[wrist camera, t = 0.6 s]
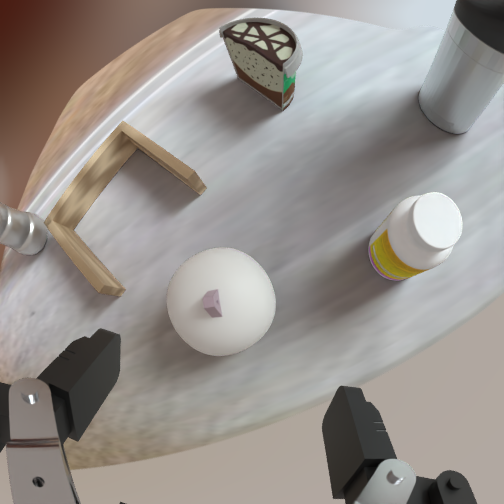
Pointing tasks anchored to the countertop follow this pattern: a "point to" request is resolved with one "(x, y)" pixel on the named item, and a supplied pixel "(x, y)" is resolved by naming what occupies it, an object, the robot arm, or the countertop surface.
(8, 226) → the plastic bottle
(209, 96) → the countertop surface
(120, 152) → the bay
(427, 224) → the supplement bottle
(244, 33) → the food container
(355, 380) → the countertop surface
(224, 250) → the ornament
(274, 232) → the countertop surface
